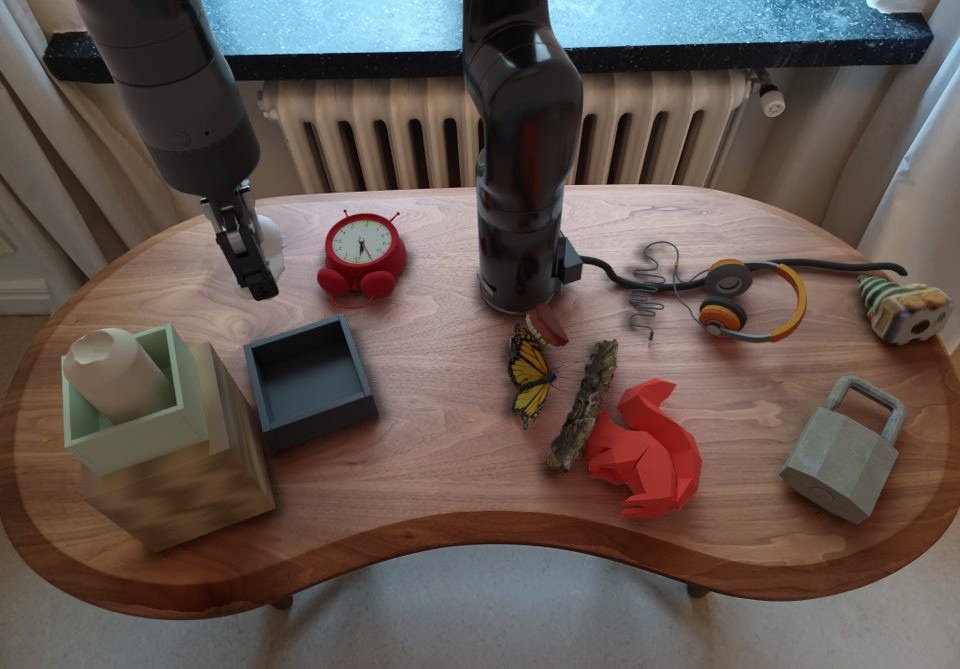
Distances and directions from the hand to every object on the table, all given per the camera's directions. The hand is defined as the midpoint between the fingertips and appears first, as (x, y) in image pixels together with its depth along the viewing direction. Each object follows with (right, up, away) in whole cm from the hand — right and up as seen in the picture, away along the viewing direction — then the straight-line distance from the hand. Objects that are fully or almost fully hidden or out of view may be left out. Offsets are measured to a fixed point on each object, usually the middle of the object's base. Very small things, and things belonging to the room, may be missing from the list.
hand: (259, 264), depth 61 cm
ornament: (+70, -6, +13) cm, 71 cm away
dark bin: (+2, -13, +15) cm, 20 cm away
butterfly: (+28, -12, +12) cm, 33 cm away
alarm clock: (+5, +2, +25) cm, 26 cm away
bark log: (+32, -15, +12) cm, 38 cm away
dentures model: (+28, -4, +11) cm, 30 cm away
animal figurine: (+37, -19, +9) cm, 42 cm away
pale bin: (-9, -13, -2) cm, 16 cm away
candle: (-9, -13, -3) cm, 16 cm away
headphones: (+48, -3, +20) cm, 52 cm away
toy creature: (0, -1, +2) cm, 2 cm away
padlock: (+53, -22, +4) cm, 58 cm away
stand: (-8, -21, +9) cm, 25 cm away
